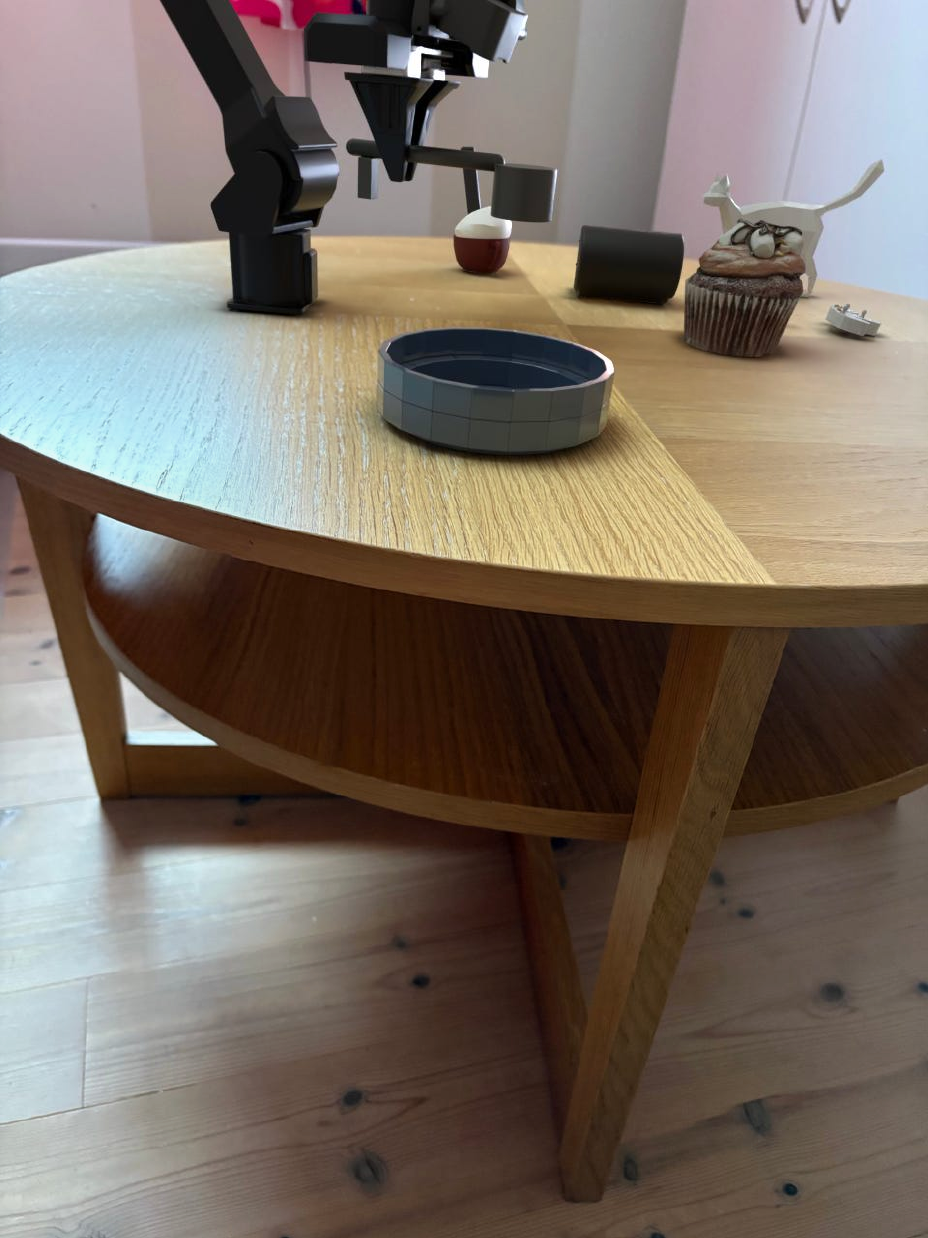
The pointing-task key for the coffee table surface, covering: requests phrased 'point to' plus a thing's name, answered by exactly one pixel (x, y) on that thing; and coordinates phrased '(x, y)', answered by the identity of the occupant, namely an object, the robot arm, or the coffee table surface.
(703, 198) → the cat figurine
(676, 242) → the end cap
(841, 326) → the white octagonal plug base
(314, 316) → the coffee table surface
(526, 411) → the bowl
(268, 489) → the coffee table surface
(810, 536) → the coffee table surface
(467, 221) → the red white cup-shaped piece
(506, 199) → the ladle
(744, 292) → the cupcake
